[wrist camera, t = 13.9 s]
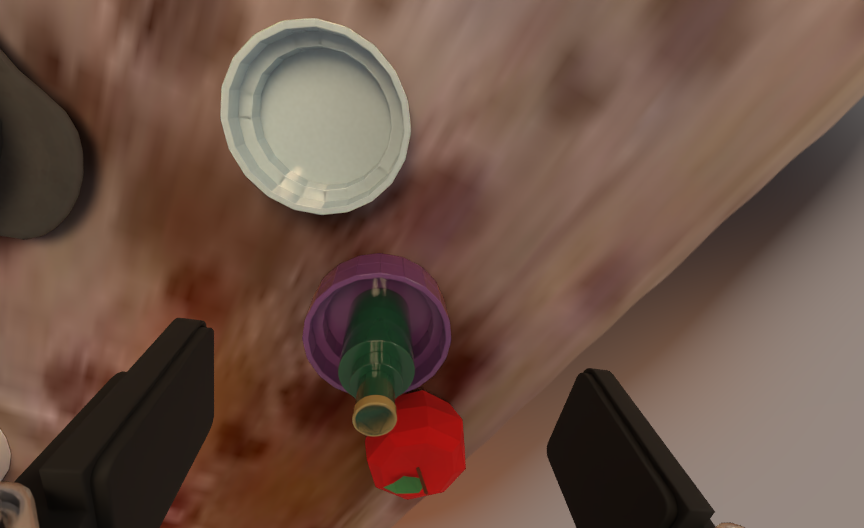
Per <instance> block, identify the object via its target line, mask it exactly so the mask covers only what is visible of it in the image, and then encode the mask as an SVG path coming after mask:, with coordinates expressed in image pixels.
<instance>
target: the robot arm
mask: <svg viewBox="0 0 864 528" xmlns="http://www.w3.org/2000/svg"><path fill="white" fill-rule="evenodd" d="M213 418H214V331H213V329H212V328H206V323H205V322H204V321H201V320H193V319H185V318H176V319H175V320H174V321H173V322H172V323H171V324H170V325H169V326H168V327H167V328H166V329H165V330H164V332H163V333H162V334H161V335H160V336H159V337H158V338H157V339H156V340H155V342H154V343H153V344H152V345H151V346H150V347H149V348H148V349H147V350H146V352H145V353H144V354H143V355H142V356H141V357H140V358H139V359H138V360H137V362H136V363H135V364H134V365H133V366H132V367H131V368H130V369H129V370H128V372H120V373H117V374H116V375H115V376H113V377H112V378H111V379H110V380H109V381H108V382H107V383H106V384H105V385H104V386H103V388H102V389H101V390H100V391H99V392H98V393H97V394H96V395H95V396H94V397H93V398H92V399H91V400H90V401H89V403H88V404H87V405H86V406H85V407H84V408H83V409H82V410H81V411H80V412H79V413H78V414H77V415H76V416H75V417H74V419H73V420H72V421H71V422H70V423H69V424H68V425H67V426H66V427H65V428H64V429H63V430H62V431H61V432H60V434H59V435H58V436H57V437H56V438H55V439H54V440H53V441H52V442H51V443H50V444H49V445H48V446H47V447H46V449H45V450H44V451H43V452H42V453H41V454H40V455H39V456H38V457H37V458H36V459H35V460H34V461H33V462H32V463H31V465H30V466H29V467H28V468H27V469H26V470H25V471H24V472H23V473H22V474H21V475H20V476H19V477H18V478H17V480H16V481H15V482H7V481H0V528H159V527H160V525H161V524H162V522H163V520H164V518H165V516H166V514H167V512H168V510H169V508H170V506H171V504H172V502H173V500H174V498H175V497H176V495H177V493H178V491H179V489H180V487H181V485H182V483H183V481H184V479H185V477H186V475H187V473H188V471H189V469H190V468H191V466H192V464H193V462H194V460H195V458H196V456H197V454H198V452H199V450H200V448H201V446H202V444H203V442H204V440H205V439H206V437H207V435H208V433H209V431H210V428H211V426H212V422H213ZM547 456H548V459H549V462H550V464H551V467H552V469H553V471H554V474H555V476H556V479H557V481H558V484H559V486H560V489H561V491H562V493H563V496H564V498H565V501H566V503H567V506H568V508H569V511H570V513H571V515H572V518H573V520H574V523H575V525H576V528H745V527H743V526H741V525H737V524H734V523H721V524H719V525H718V526H716V527H715V526H714V524H713V523H712V521H711V520H710V518H711V517H712V515H713V514H714V512H715V511H714V510H713V508H712V507H711V506H710V504H709V503H708V502H707V500H706V499H705V498H704V496H703V495H702V494H701V492H700V491H699V490H698V489H697V487H696V485H695V484H694V483H693V482H692V480H691V479H690V477H689V476H688V475H687V474H686V472H685V471H684V469H683V468H682V467H681V466H680V464H679V463H678V461H677V460H676V459H675V457H674V456H673V455H672V453H671V452H670V450H669V449H668V448H667V447H666V445H665V444H664V442H663V441H662V440H661V438H660V437H659V436H658V435H657V433H656V432H655V430H654V429H653V428H652V426H651V425H650V424H649V422H648V421H647V420H646V418H645V417H644V416H643V414H642V413H641V411H640V410H639V409H638V408H637V406H636V405H635V403H634V402H633V401H632V399H631V398H630V397H629V395H628V394H627V393H626V391H625V390H624V389H623V387H622V386H621V385H620V383H619V382H618V381H617V379H616V378H615V377H614V375H613V374H612V373H611V372H610V371H607V370H600V369H592V368H588V369H586V370H585V371H584V372H583V373H580V374H579V375H578V376H577V378H576V381H575V383H574V385H573V388H572V390H571V392H570V394H569V397H568V399H567V401H566V403H565V405H564V408H563V410H562V412H561V414H560V417H559V419H558V421H557V424H556V426H555V428H554V431H553V433H552V435H551V437H550V439H549V442H548V445H547Z"/></svg>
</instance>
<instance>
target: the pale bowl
mask: <svg viewBox="0 0 864 528" xmlns="http://www.w3.org/2000/svg"><path fill="white" fill-rule="evenodd" d="M220 118H221V123H222V126H223V130H224V133H225V137H226V141H227V144H228V148H229V150H230V152H231V153H232V155H233V157H234V158H235V160H236V162H237V163H238V165H239V166H240V168H241V170H242V171H243V173H244V175H246V177H247V178H248V179H249V180H250V181H251V182H253V183H254V184H255V185H256V186H257V187H258V188H259V189H260V190H261V191H262V192H263V193H265V194H266V195H267V196H268V197H270V198H272V199H274V200H276V201H278V202H280V203H282V204H284V205H286V206H288V207H289V208H291V209H294V210H298V211H303V212H308V213H314V214H319V215H326V214H335V213H345V212H350V211H352V210H354V209H356V208H359V207H361V206H363V205H365V204H368V203H370V202H372V201H373V200H374V199H376V198H377V197H378V196H379V195H380V194H381V193H382V192H383V191H384V190H385V189H387V188H388V187H389V186H390V185H391V184H392V183H393V181H394V179H395V177H396V176H397V174H398V172H399V170H400V168H401V167H402V165H403V163H404V161H405V159H406V155H407V150H408V145H409V140H410V135H411V124H410V114H409V104H408V99H407V97H406V94H405V92H404V90H403V87H402V85H401V82H400V80H399V77H398V75H397V73H396V72H395V69H394V68H393V67H392V66H391V65H390V63H389V62H388V61H387V60H386V58H385V57H384V56H383V55H382V53H381V52H380V51H379V50H378V49H377V47H376V46H375V45H374V44H372V43H371V42H369V41H368V40H366V39H365V38H363V37H362V36H360V35H359V34H357V33H356V32H354V31H353V30H351V29H350V28H348V27H346V26H343V25H339V24H335V23H332V22H328V21H324V20H321V19H317V18H307V19H294V20H283V21H280V22H278V23H276V24H274V25H272V26H270V27H268V28H266V29H264V30H262V31H260V32H258V33H256V34H254V35H253V36H252V37H251V38H250V39H249V40H248V41H247V43H246V44H245V45H244V46H243V47H242V48H241V49H240V50H239V51H238V52H237V54H236V55H235V56H234V57H233V59H232V61H231V64H230V66H229V69H228V71H227V74H226V77H225V79H224V82H223V84H222V88H221V115H220Z"/></svg>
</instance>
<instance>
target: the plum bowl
mask: <svg viewBox="0 0 864 528" xmlns="http://www.w3.org/2000/svg"><path fill="white" fill-rule="evenodd" d="M373 288H386V289H390V290H392V291H395V292H397V293H398V294H399V295H401V296H402V297H403V298H404V299H405V301H406V302H407V304H408V307H409V311H410V321H411V332H412V343H413V354H414V365H415V375H414V379H413V381H412V383H411V385H410V386H409V388H408V389H407V390H406V391H405V392H408V391H410V390H413V389H415V388H418V387H419V386H421V385H422V384H423V383H425V382H426V381H427V380H428V379H430V378H431V377H432V376H434V375H435V373H436V372H437V371H438V369H439V368H440V366H441V365H442V364H443V362H444V361H445V359H446V357H447V353H448V350H449V346H450V343H451V330H450V320H449V316H448V312H447V308H446V305H445V301H444V297H443V295H442V293H441V291H440V289H439V287H438V284H437V282H436V281H435V280H434V279H433V278H432V277H431V276H430V275H429V274H428V273H427V272H426V271H425V270H424V269H423V268H422V267H421V266H419V265H417V264H415V263H413V262H411V261H409V260H407V259H406V258H403V257H399V256H393V255H388V254H381V253H378V254H369V255H360V256H357V257H355V258H353V259H350V260H348V261H346V262H343V263H341V264H339V265H338V266H336V267H335V268H334V269H333V270H332V271H331V272H330V273H329V274H327V275H326V276H325V277H324V278H323V279H322V281H321V283H320V285H319V286H318V288H317V290H316V292H315V294H314V296H313V299H312V301H311V304H310V307H309V309H308V312H307V315H306V317H305V322H304V329H303V337H302V340H303V344H304V348H305V352H306V356H307V359H308V360H309V362H310V363H311V365H312V366H313V368H314V369H315V371H316V372H317V374H318V375H319V376H320V377H322V378H323V379H324V380H326V381H327V382H328V383H329V384H331V385H332V386H333V387H335V388H337V389H339V390H342V391H344V392H347V391H346V390H345V389H344V388H343V386H342V385H341V383H340V380H339V376H338V367H339V361H340V356H341V351H342V345H343V340H344V334H345V329H346V323H347V318H348V312H349V308H350V305H351V303H352V302H353V300H354V299H355V298H356V297H357V296H358V295H359V294H361V293H362V292H364V291H366V290H369V289H373ZM405 392H404V393H405ZM347 393H348V392H347Z"/></svg>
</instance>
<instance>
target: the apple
mask: <svg viewBox="0 0 864 528" xmlns="http://www.w3.org/2000/svg"><path fill="white" fill-rule="evenodd" d="M395 406H396V408H397V422H396V425H395V426H394V428H393V429H392V430H391V431H390V432H388V433H386V434H384V435H381V436H367V437H366V439H365V446H366V455H367V462H368V465H369V468H370V471H371V474H372V477H373V480H374V483H375V486H376V488H379V489H382V490H384V491H387V492H389V493H392V494H394V495H397V496H399V497H402V498H405V499H407V500H408V499H413V498H418V497H422V496H427V495H432V494H436V493H442V492H444V491H445V490H446V489H447V488H448V487H449V486H450V485H451V484H452V483H453V482H454V481H455V479H456V478H457V477H458V476H459V475H460V474H461V473H462V472H463V471H464V470H465V469H466V466H465V465H466V464H465V446H464V433H463V420H462V418H461V417H460V416H459V415H458V414H457V412H456V411H455V410H454V409H453V407H452V406H451V405H450V404H449V403H448V402H446V401H444V400H442V399H440V398H438V397H436V396H434V395H432V394H430V393H428V392H426V391H424V390H422V391H417V392H412V393H407V394H402V395H400V396H398V397H397V398H396V399H395Z"/></svg>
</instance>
